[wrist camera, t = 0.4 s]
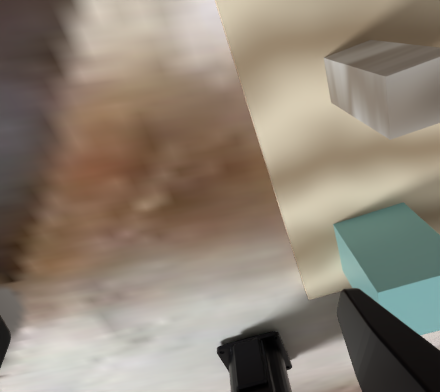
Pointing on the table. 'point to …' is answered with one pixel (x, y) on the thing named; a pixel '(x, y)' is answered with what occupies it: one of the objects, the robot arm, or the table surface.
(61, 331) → the table surface
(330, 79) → the post stand
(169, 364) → the table surface
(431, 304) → the teal rectangular block
